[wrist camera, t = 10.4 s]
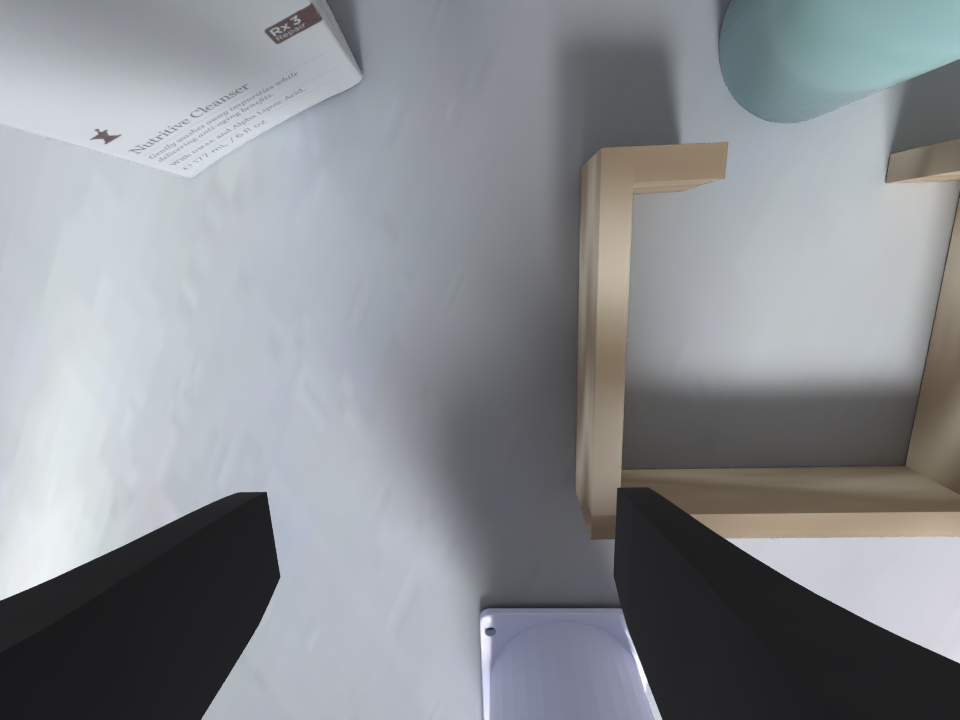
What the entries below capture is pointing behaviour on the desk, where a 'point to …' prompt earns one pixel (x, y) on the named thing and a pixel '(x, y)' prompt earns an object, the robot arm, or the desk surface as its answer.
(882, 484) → the cradle
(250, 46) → the skincare box
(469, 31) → the desk surface
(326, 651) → the desk surface
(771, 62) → the teal cylinder with tab
